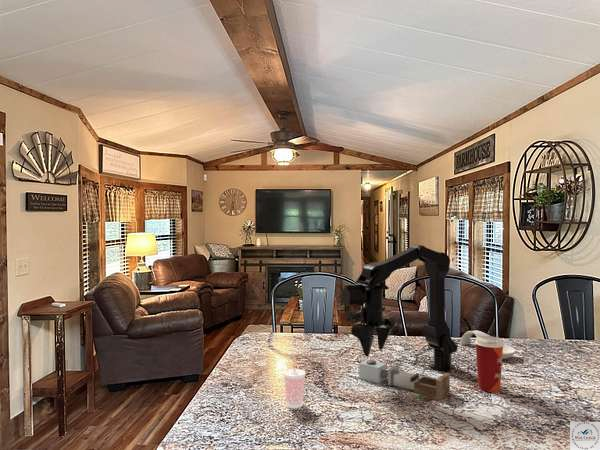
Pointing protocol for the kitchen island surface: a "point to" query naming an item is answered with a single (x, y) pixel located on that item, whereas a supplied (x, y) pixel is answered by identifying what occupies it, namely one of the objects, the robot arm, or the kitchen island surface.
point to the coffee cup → (489, 362)
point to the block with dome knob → (372, 371)
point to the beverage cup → (294, 386)
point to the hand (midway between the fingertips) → (373, 352)
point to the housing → (432, 388)
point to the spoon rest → (466, 338)
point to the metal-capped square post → (403, 378)
